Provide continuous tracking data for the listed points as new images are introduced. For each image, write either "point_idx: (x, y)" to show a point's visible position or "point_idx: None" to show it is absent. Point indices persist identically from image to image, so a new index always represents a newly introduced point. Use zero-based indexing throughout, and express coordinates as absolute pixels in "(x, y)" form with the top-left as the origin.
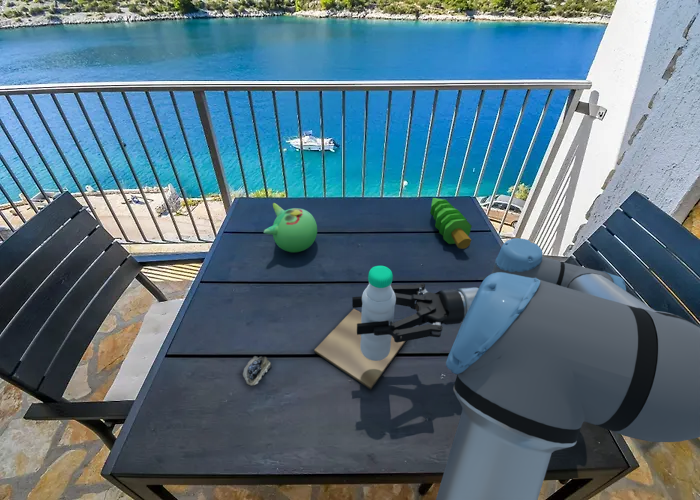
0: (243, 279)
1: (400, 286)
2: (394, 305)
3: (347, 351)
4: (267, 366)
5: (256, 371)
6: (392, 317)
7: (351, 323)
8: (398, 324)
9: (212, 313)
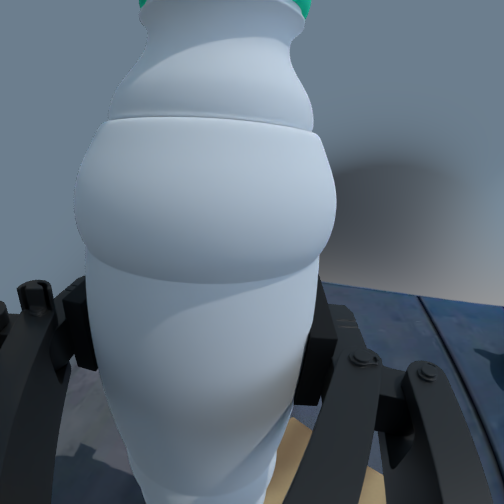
0: (441, 328)
1: (469, 482)
2: (84, 226)
3: (278, 481)
4: None
5: None
6: (100, 351)
7: (375, 496)
8: (19, 333)
9: (369, 306)
